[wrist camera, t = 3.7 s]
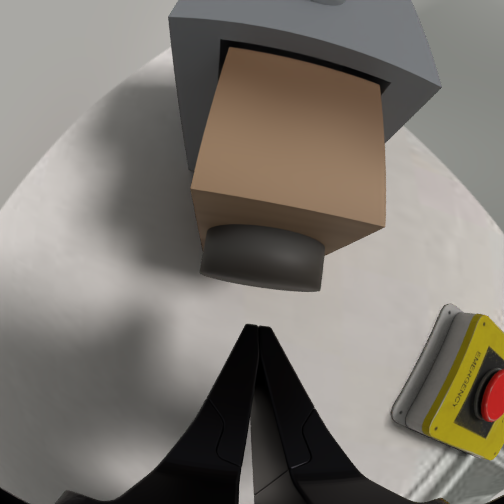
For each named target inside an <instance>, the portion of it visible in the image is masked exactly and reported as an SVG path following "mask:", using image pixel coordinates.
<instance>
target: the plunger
mask: <svg viewBox="0 0 504 504" xmlns="http://www.w3.org/2000/svg"><path fill="white" fill-rule="evenodd" d="M190 189H191V195H192V200H193V205H194V210H195V215H196V220H197V225H198V230H199V235H200V240H201V245H202V249H203V256H202V261H201V267H200V274H202V275H204V276H207V277H210V278H214V279H218V280H222V281H226V282H231V283H236V284H242V285H248V286H254V287H260V288H268V289H276V290H285V291H299V292H316V291H320V289H321V281H322V272H323V263H324V256H325V255H327V254H330V253H332V252H334V251H336V250H338V249H340V248H342V247H344V246H347V245H349V244H351V243H353V242H355V241H357V240H359V239H361V238H363V237H366V236H368V235H370V234H372V233H374V232H376V231H378V230H380V229H382V228H384V227H385V221H386V167H385V142H384V126H383V113H382V102H381V92H380V85H379V84H376V83H374V82H371V81H368V80H365V79H362V78H359V77H356V76H353V75H350V74H347V73H344V72H341V71H337V70H334V69H331V68H327V67H324V66H320V65H316V64H313V63H309V62H305V61H301V60H297V59H292V58H288V57H283V56H279V55H274V54H269V53H264V52H258V51H253V50H247V49H240V48H234V47H229V49H228V52H227V55H226V59H225V62H224V65H223V68H222V71H221V75H220V78H219V81H218V85H217V88H216V92H215V95H214V98H213V102H212V105H211V109H210V113H209V116H208V120H207V124H206V127H205V131H204V135H203V139H202V143H201V147H200V150H199V154H198V158H197V163H196V167H195V171H194V175H193V179H192V184H191V188H190Z"/></svg>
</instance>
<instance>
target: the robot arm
mask: <svg viewBox="0 0 504 504" xmlns="http://www.w3.org/2000/svg"><path fill="white" fill-rule="evenodd" d="M249 421H250V423H251V444H252V465H253V485H254V495H255V496H254V504H450V503H448V502H447V501H446V500H444V499H443V498H438V499H434V500H431V501H428V502H424V503H418V502H413V501H411V500H408V499H406V498H404V497H402V496H400V495H398V494H396V493H394V492H392V491H390V490H388V489H386V488H384V487H382V486H380V485H378V484H376V483H375V482H373V481H371V480H369V479H368V478H366V477H365V476H364V475H363V474H361V473H360V472H359V471H358V470H357V468H356V467H355V466H354V465H353V463H352V462H351V461H350V459H349V458H348V457H347V455H346V454H345V453H344V451H343V450H342V449H341V447H340V446H339V445H338V443H337V442H336V441H335V439H334V438H333V436H332V435H331V434H330V432H329V431H328V429H327V428H326V426H325V424H324V423H323V421H322V419H321V418H320V416H319V414H318V412H317V410H316V409H314V405H313V403H312V402H311V400H310V398H309V396H308V394H307V393H306V391H305V389H304V387H303V385H302V383H301V382H300V380H299V378H298V376H297V374H296V373H295V371H294V369H293V367H292V365H291V363H290V362H289V360H288V358H287V356H286V354H285V352H284V351H283V349H282V347H281V345H280V343H279V341H278V339H277V338H276V336H275V334H274V332H273V330H272V328H271V327H268V326H257V325H253V324H246V325H245V326H244V328H243V330H242V332H241V334H240V336H239V338H238V340H237V342H236V344H235V346H234V347H233V349H232V351H231V353H230V355H229V357H228V359H227V361H226V363H225V365H224V366H223V368H222V370H221V372H220V374H219V376H218V378H217V380H216V382H215V383H214V385H213V387H212V389H211V391H210V393H209V395H208V396H207V399H206V400H205V402H204V404H203V405H202V407H201V409H200V411H199V412H198V414H197V416H196V417H195V419H194V421H193V422H192V423H191V425H190V426H189V427H188V429H187V430H186V432H185V433H184V434H183V435H182V437H181V438H180V439H179V441H178V442H177V443H176V444H175V446H174V447H173V448H172V449H171V451H170V452H169V453H168V454H167V455H166V457H165V458H164V459H163V460H162V461H161V462H160V464H159V465H158V466H157V467H156V468H155V469H154V470H153V471H152V472H150V473H149V474H148V475H147V476H146V477H144V478H143V479H142V480H141V481H139V482H138V483H137V484H135V485H134V486H133V487H132V488H130V489H129V490H128V491H126V492H125V493H124V494H122V495H121V496H120V497H118V498H116V499H115V500H111V501H100V500H96V499H93V498H90V497H87V496H84V495H82V494H79V493H76V492H72V491H69V490H66V491H65V492H64V493H63V494H62V496H61V497H60V498H59V499H58V501H57V502H56V503H55V504H239V482H240V474H241V467H242V463H243V457H244V451H245V445H246V439H247V433H248V427H249ZM0 504H30V503H28V502H26V501H24V500H22V499H20V498H18V497H16V496H15V495H13V494H11V493H9V492H8V491H6V490H4V489H2V488H1V487H0ZM486 504H504V495H502V496H500V497H498V498H496V499H494V500H492V501H490V502H488V503H486Z"/></svg>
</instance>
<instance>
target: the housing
mask: <svg viewBox="0 0 504 504" xmlns="http://www.w3.org/2000/svg"><path fill="white" fill-rule="evenodd" d="M168 20H169V29H170V38H171V48H172V56H173V65H174V73H175V81H176V88H177V96H178V103H179V110H180V117H181V124H182V130H183V137H184V143H185V150H186V156H187V162H188V168H189V170H195V167H196V163H197V158H198V154H199V150H200V147H201V143H202V139H203V135H204V131H205V127H206V124H207V120H208V116H209V113H210V109H211V105H212V102H213V98H214V95H215V92H216V88H217V85H218V81H219V78H220V75H221V71H222V68H223V65H224V62H225V59H226V55H227V52H228V49H229V47H234V48H240V49H247V50H253V51H258V52H264V53H269V54H274V55H279V56H283V57H288V58H292V59H297V60H301V61H305V62H309V63H313V64H316V65H320V66H324V67H327V68H331V69H334V70H337V71H341V72H344V73H347V74H350V75H353V76H356V77H359V78H362V79H365V80H368V81H371V82H374V83H376V84H379V85H380V92H381V102H382V113H383V126H384V142H385V143H386V142H387V141H388V140H389V139H390V138H391V137H392V136H393V135H394V134H395V133H396V132H397V131H398V130H399V129H400V128H401V127H402V126H403V125H404V124H405V123H406V122H407V121H408V120H409V119H410V118H411V117H412V116H413V115H414V114H415V113H416V112H417V111H418V110H419V109H420V108H421V107H422V106H424V105H425V104H426V103H427V102H428V100H430V99H431V98H432V97H433V96H434V94H436V93H437V92H438V91H439V89H441V88H442V86H441V83H440V79H439V76H438V72H437V69H436V65H435V62H434V59H433V56H432V53H431V50H430V47H429V44H428V41H427V39H426V36H425V33H424V30H423V28H422V25H421V22H420V20H419V18H418V15H417V13H416V10H415V8H414V6H413V3H412V1H411V0H178V2H177V3H176V5H175V7H174V8H173V10H172V11H171V13H170V15H169V16H168Z"/></svg>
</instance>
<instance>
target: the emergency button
mask: <svg viewBox="0 0 504 504" xmlns="http://www.w3.org/2000/svg"><path fill="white" fill-rule="evenodd" d="M391 413H392V419H394V420H395V421H396V422H397V423H399V424H401V425H403V426H405V427H407V428H409V429H411V430H414V431H416V432H418V433H420V434H423V435H425V436H427V437H429V438H432V439H434V440H436V441H439V442H441V443H443V444H446V445H448V446H451V447H453V448H455V449H458V450H460V451H463V452H465V453H468V454H470V455H473V456H476V457H478V458H484V459H487V460H493V459H494V458H495V457H496V456H497V454H498V453H499V451H500V449H501V448H502V446H503V444H504V332H503V331H502V330H501V329H500V328H499V327H498V326H497V325H496V324H495V323H494V322H493V321H492V320H491V319H490V318H489V317H488V316H486V315H482V314H470V313H464V312H463V311H461V310H460V309H459V308H458V307H457V306H455V305H453V304H447V305H445V306H444V307H443V309H442V310H441V312H440V315H439V317H438V320H437V322H436V324H435V326H434V329H433V331H432V333H431V335H430V338H429V340H428V342H427V344H426V346H425V348H424V350H423V352H422V354H421V356H420V358H419V360H418V362H417V364H416V366H415V368H414V370H413V372H412V374H411V376H410V378H409V379H408V381H407V383H406V385H405V387H404V388H403V390H402V392H401V394H400V395H399V397H398V399H397V401H396V402H395V404H394V406H393V409H392V412H391Z"/></svg>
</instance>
